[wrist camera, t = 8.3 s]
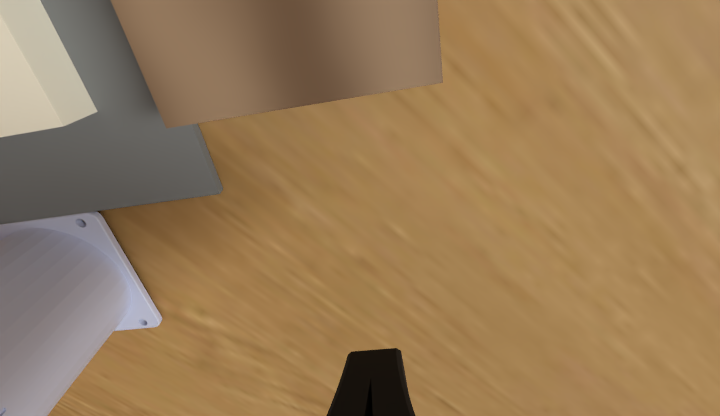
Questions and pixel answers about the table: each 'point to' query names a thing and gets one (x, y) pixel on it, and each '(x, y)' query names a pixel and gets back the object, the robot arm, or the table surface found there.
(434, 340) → the table surface
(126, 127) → the mat
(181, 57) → the riser
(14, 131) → the cream rectangular block
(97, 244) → the robot arm
